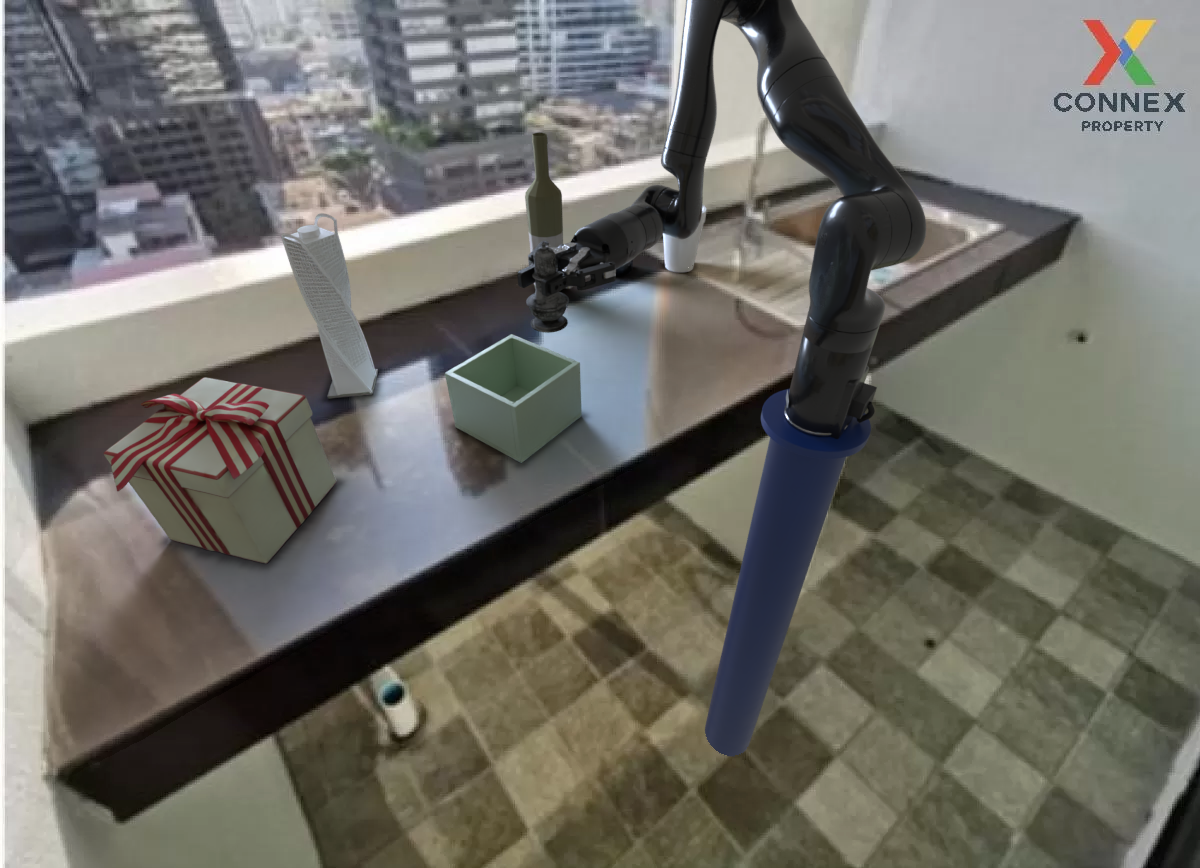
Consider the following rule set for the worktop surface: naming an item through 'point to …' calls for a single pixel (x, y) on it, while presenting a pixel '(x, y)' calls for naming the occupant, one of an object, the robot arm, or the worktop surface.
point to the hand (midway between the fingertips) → (531, 284)
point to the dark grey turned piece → (541, 306)
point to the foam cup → (682, 249)
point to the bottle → (543, 200)
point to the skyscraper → (331, 307)
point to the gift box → (226, 467)
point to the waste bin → (515, 396)
